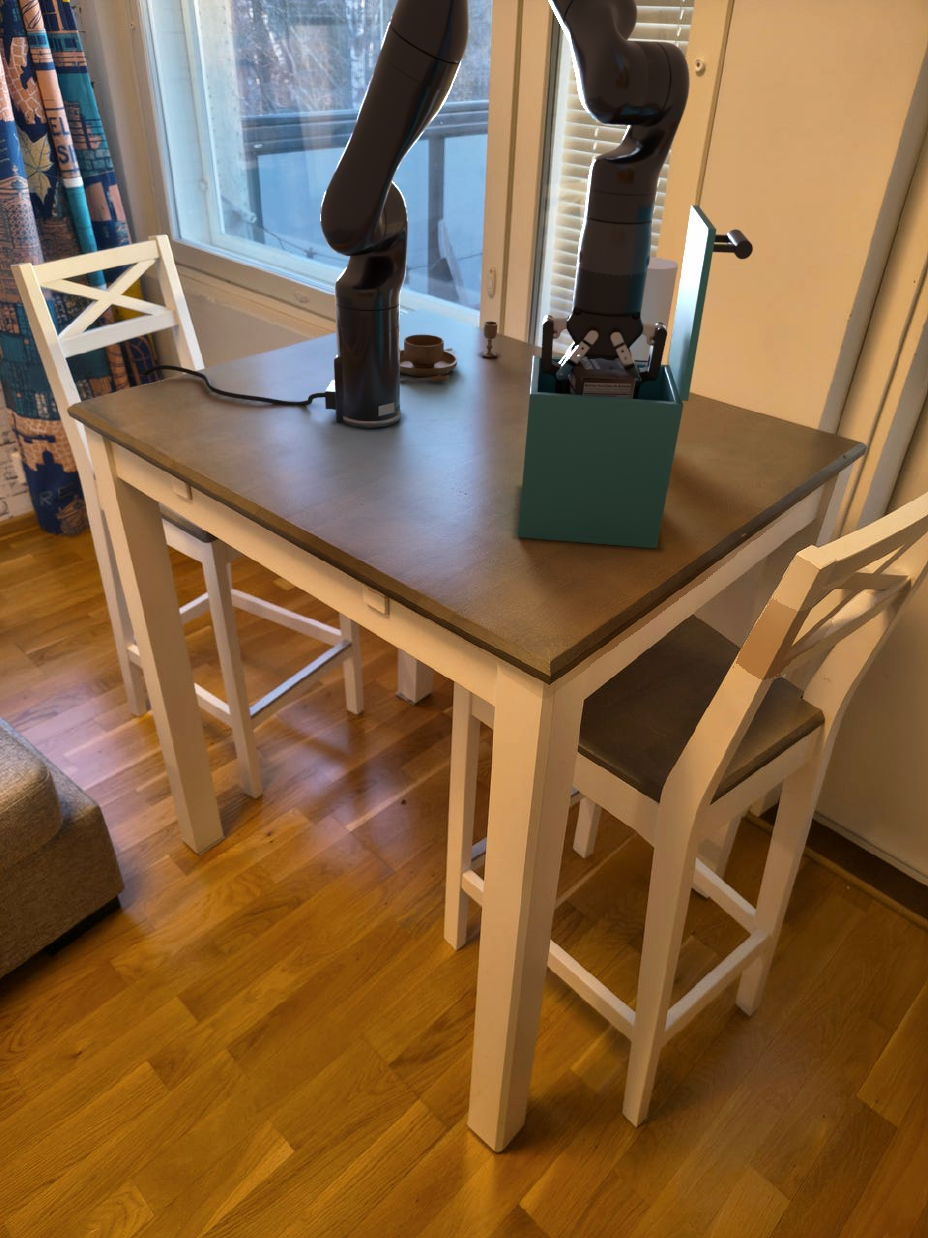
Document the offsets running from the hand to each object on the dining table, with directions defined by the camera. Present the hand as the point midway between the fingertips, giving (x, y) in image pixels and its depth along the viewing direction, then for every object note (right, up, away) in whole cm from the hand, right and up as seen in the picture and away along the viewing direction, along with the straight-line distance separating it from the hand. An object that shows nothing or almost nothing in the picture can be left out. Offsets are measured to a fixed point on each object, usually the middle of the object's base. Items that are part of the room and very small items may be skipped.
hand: (593, 411), depth 104 cm
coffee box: (-1, -9, +6) cm, 11 cm away
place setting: (-18, +20, +53) cm, 60 cm away
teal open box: (0, -12, +8) cm, 14 cm away
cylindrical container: (+9, +3, +30) cm, 32 cm away
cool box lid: (+9, +10, -8) cm, 15 cm away
